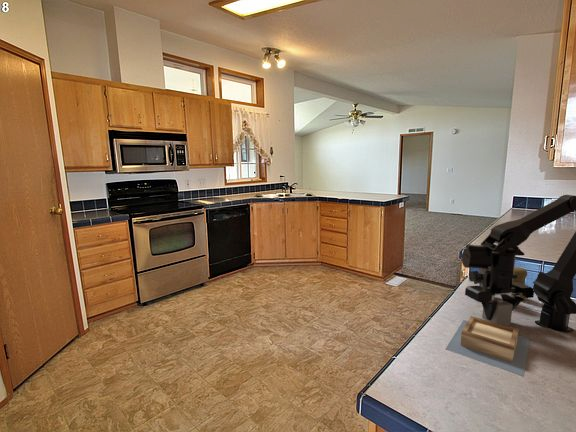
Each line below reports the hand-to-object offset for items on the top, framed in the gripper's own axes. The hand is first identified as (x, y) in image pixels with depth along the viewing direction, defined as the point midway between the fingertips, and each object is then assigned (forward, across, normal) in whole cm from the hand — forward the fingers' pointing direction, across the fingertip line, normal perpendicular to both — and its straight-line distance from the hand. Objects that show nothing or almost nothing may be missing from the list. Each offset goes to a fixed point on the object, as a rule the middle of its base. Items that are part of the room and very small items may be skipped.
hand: (496, 318), depth 93 cm
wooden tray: (+1, +12, +10) cm, 16 cm away
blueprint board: (+2, +12, +10) cm, 16 cm away
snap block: (+2, 0, 0) cm, 2 cm away
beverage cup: (+2, -13, -17) cm, 21 cm away
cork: (+2, -23, -15) cm, 28 cm away
